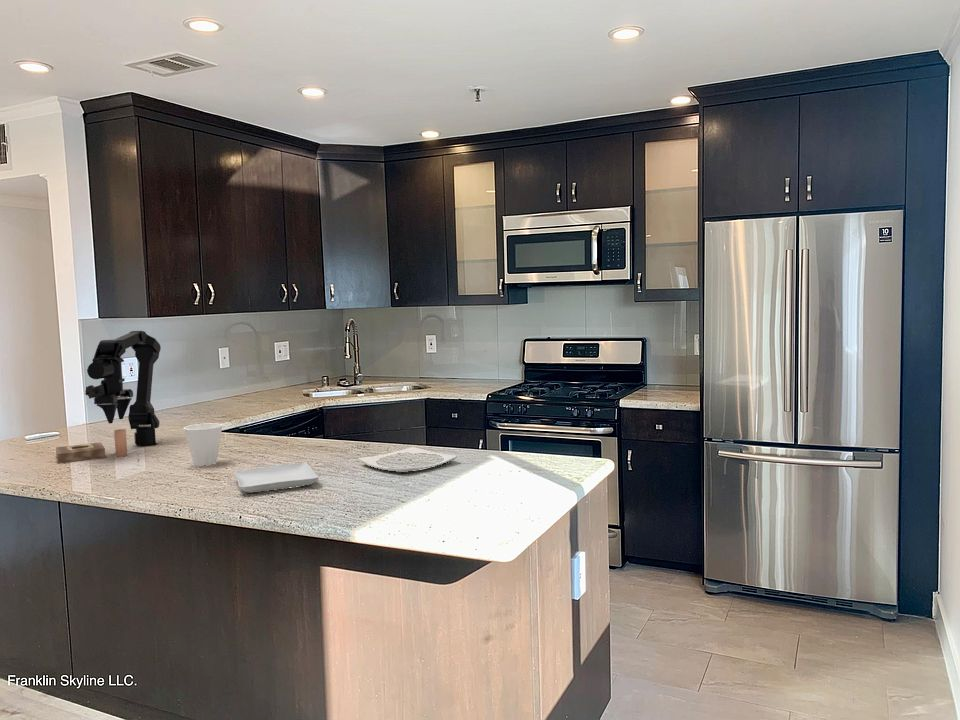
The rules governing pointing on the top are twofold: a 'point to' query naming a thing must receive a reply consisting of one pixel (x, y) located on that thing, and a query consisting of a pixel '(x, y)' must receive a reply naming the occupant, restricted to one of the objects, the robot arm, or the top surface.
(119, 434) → the peg
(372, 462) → the plate
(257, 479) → the salad plate
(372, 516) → the top surface
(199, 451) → the cup
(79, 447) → the socket block
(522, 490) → the top surface
